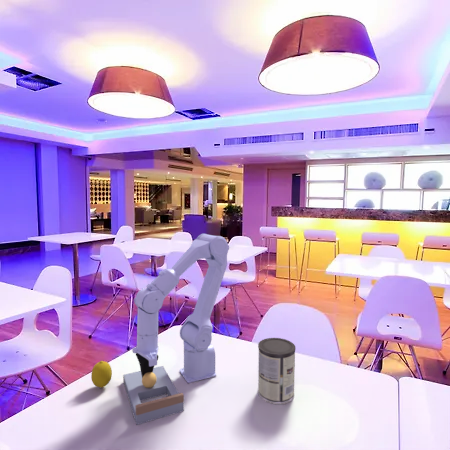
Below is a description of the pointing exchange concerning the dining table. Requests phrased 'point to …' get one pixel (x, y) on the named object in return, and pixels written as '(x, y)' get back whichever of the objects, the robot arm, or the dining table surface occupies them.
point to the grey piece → (155, 407)
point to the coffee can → (276, 370)
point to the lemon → (101, 374)
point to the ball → (149, 380)
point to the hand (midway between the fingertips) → (146, 378)
